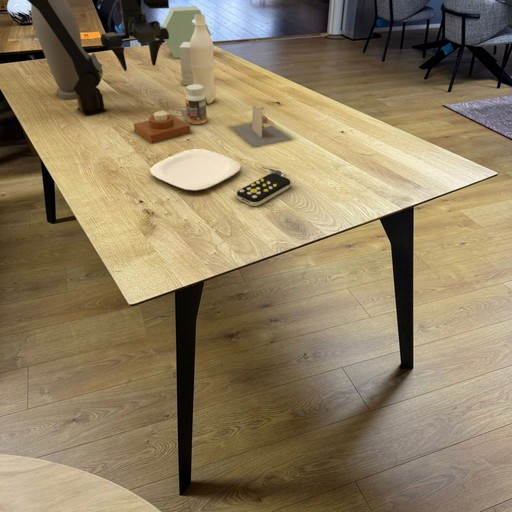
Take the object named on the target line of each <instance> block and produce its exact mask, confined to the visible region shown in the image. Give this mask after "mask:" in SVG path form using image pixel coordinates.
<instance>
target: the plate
mask: <svg viewBox="0 0 512 512" xmlns="http://www.w3.org/2000/svg"><path fill="white" fill-rule="evenodd" d="M241 169H242V165H241V164H240V163H239V162H238V161H237V160H235V159H233V158H231V157H228V156H226V155H223V154H220V153H218V152H215V151H212V150H208V149H202V148H192V149H185V150H184V151H180V152H178V153H175V154H172V155H171V156H169V157H167V158H165V159H162V160H160V161H158V162H157V163H155V164H153V165H152V167H150V169H149V172H150V174H151V176H153V177H155V178H156V179H158V180H159V181H161V182H164V183H166V184H168V185H170V186H173V187H175V188H176V189H177V188H178V189H181V190H184V191H191V192H199V191H203V190H207V189H210V188H213V187H214V186H215V187H216V186H218V185H219V184H220V183H223V182H225V181H227V180H228V179H230V178H231V177H234V175H236V174H237V173H239V172H240V170H241Z"/></svg>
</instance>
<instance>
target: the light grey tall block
mask: <svg viewBox="0 0 512 512" xmlns="http://www.w3.org/2000/svg"><path fill="white" fill-rule="evenodd" d="M179 51H180V58H179V59H180V69H181V79H182V86H188V85H192V84H193V72H192V68H191V54H190V42H183V43H182V44H181V46H180V47H179Z"/></svg>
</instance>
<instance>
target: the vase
mask: <svg viewBox="0 0 512 512" xmlns="http://www.w3.org/2000/svg"><path fill="white" fill-rule="evenodd" d="M52 2H53V4H54V5H55V7H56V8H57V10H58V11H59V13H60V14H61V16H62V17H63V19H64V20H65V22H66V23H67V25H68V26H69V28H70V30H71V31H72V33H73V34H74V36H75V37H76V39H77V40H78V42H79V43H80V45H81V46H82V45H83V44H82V37H81V35H82V34H81V30H80V25H79V23H78V19H77V17H76V13H75V12H74V9H72V6H71V5H70V4H69V2H68V0H52ZM30 13H31V14H30V15H31V21H32V25H33V30H34V33H35V35H36V37H37V40H38V43H39V45H40V48H41V49H42V53H43V55H44V58H45V60H46V63H47V65H48V67H49V69H50V72H51V74H52V77H53V79H54V81H55V84H56V85H57V87H58V88H57V95H58V97H59V98H61V99H64V100H75V99H76V100H77V96H76V92H75V90H74V87H75V85H76V83H77V81H78V79H79V77H78V75H77V73H76V70H75V67H74V64H73V61H72V59H71V57H70V56H69V54H68V53H67V51H66V50H65V48H64V47H63V46H62V44H61V43H60V41H59V40H58V38H57V37H56V35H55V34H54V32H53V31H52V29H51V28H50V26H49V25H48V23H47V22H46V20H45V19H44V17H43V16H42V15H41V13H40V12H39V10H38V9H37V8H36V7H34V6H33V5H32V4H31V3H30ZM82 47H83V46H82Z"/></svg>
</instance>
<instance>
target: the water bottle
mask: <svg viewBox="0 0 512 512" xmlns="http://www.w3.org/2000/svg"><path fill="white" fill-rule="evenodd" d="M193 21H194V22H193V23H194V25H195V30H194V33H193V35H192V38H191V40H190V54H191V68H192V72H193V84H198V85H202V86H203V94H204V95H205V99H206V104H209V105H210V104H212V103H213V102H214V101H215V98H216V94H217V92H216V91H217V89H216V86H215V79H214V73H215V72H214V71H215V60H214V59H215V58H214V57H215V54H214V53H215V52H214V42H213V39H212V37H211V36H210V35H209V33H208V32H207V29H206V25H207V21H206V15H205V14H203V13H202V14H198V15H195V18H194V20H193ZM205 22H206V23H205Z"/></svg>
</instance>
